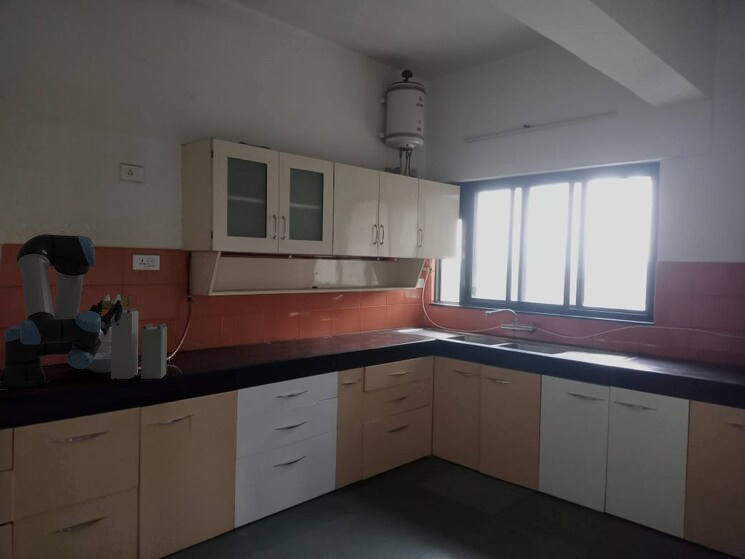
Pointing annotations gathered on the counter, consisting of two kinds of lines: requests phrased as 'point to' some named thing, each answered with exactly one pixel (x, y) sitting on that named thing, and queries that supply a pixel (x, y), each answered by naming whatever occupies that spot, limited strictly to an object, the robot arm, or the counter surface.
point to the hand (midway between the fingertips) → (113, 296)
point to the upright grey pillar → (153, 351)
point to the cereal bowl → (101, 363)
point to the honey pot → (106, 343)
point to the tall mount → (125, 345)
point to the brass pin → (125, 301)
